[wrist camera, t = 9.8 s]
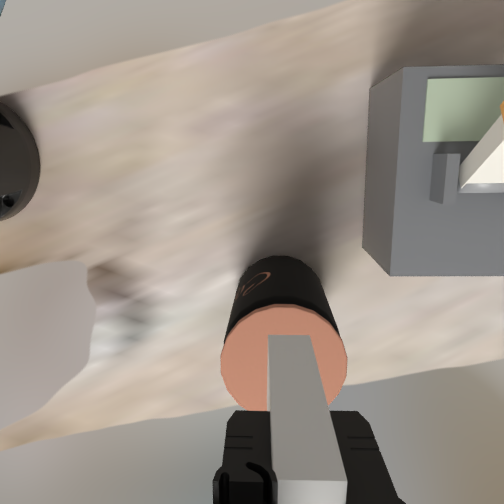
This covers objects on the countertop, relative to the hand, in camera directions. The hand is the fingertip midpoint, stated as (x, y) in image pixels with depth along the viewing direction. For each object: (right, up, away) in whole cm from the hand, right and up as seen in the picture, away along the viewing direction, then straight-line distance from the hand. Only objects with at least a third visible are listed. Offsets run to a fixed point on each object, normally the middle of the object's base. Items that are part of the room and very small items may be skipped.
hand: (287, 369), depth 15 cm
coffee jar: (+2, -1, +37) cm, 37 cm away
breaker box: (+19, +14, +32) cm, 40 cm away
